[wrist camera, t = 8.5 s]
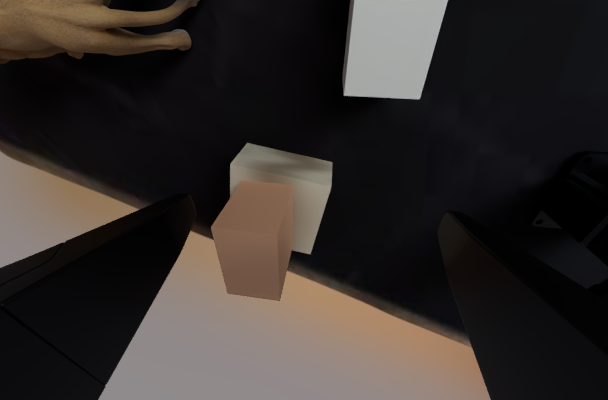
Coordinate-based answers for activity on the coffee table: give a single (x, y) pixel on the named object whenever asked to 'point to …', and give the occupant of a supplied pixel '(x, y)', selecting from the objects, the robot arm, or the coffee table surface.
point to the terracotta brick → (255, 239)
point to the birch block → (293, 171)
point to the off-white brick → (390, 46)
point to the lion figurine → (82, 29)
